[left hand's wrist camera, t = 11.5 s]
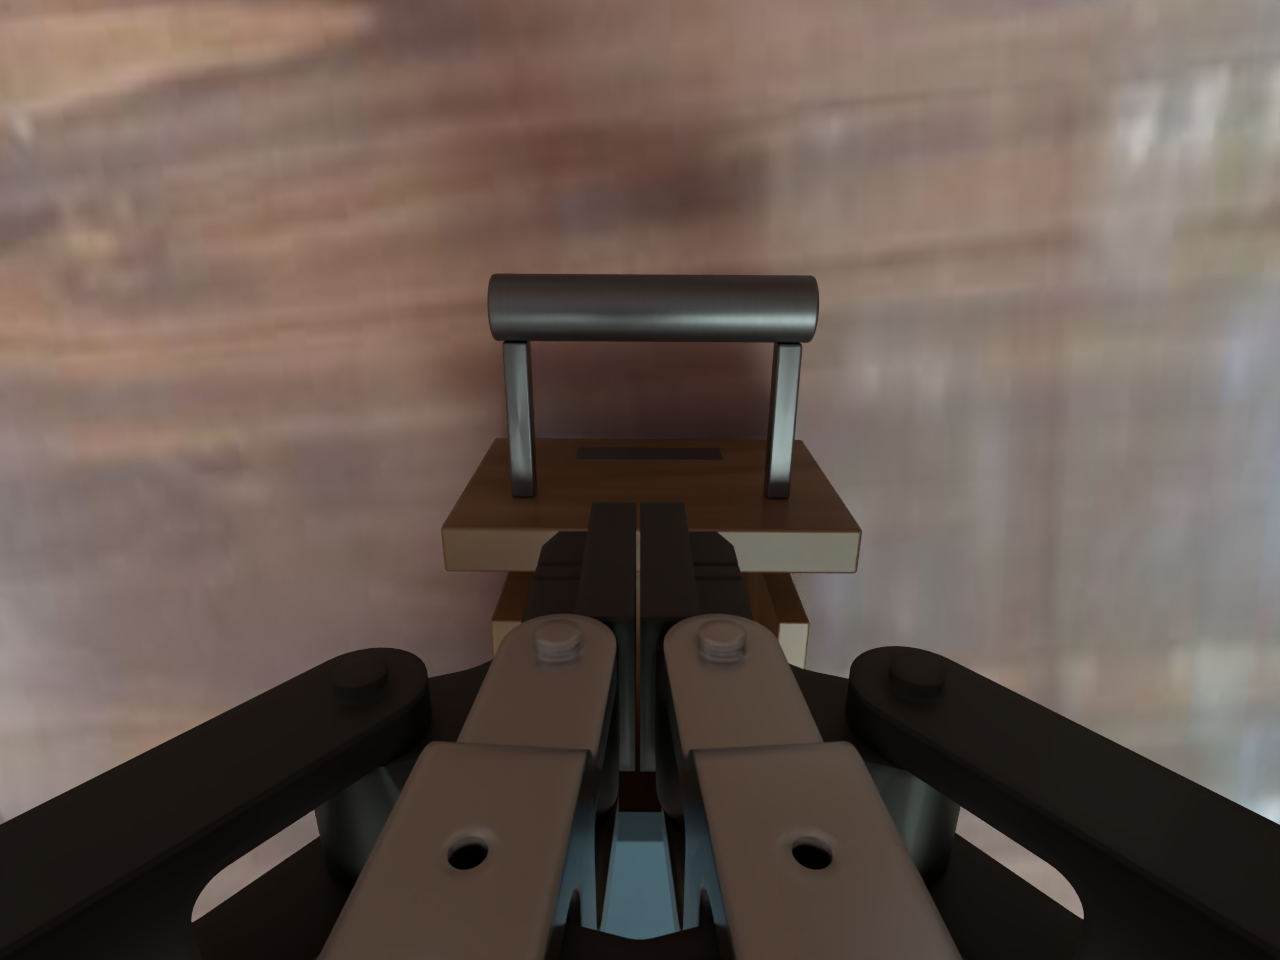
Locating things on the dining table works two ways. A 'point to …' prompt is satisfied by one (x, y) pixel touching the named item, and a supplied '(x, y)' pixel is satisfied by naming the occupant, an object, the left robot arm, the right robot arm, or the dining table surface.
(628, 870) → the blue box
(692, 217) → the dining table surface
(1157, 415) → the dining table surface
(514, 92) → the dining table surface
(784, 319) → the drawer
